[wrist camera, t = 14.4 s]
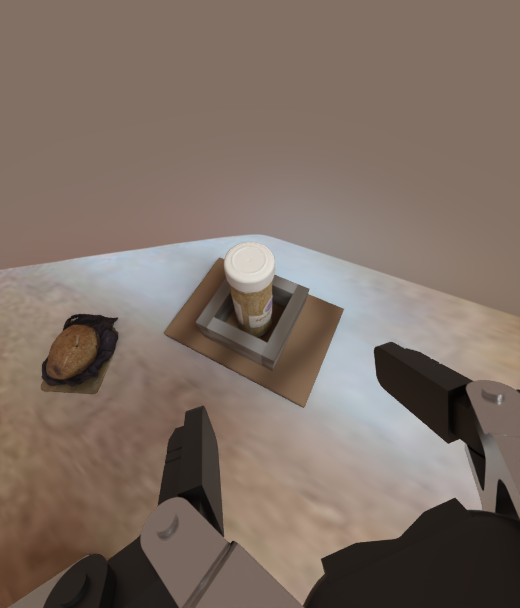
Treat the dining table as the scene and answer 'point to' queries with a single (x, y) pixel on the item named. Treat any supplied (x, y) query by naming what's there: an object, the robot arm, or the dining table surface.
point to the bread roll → (80, 355)
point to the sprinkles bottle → (251, 285)
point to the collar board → (268, 348)
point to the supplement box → (40, 593)
